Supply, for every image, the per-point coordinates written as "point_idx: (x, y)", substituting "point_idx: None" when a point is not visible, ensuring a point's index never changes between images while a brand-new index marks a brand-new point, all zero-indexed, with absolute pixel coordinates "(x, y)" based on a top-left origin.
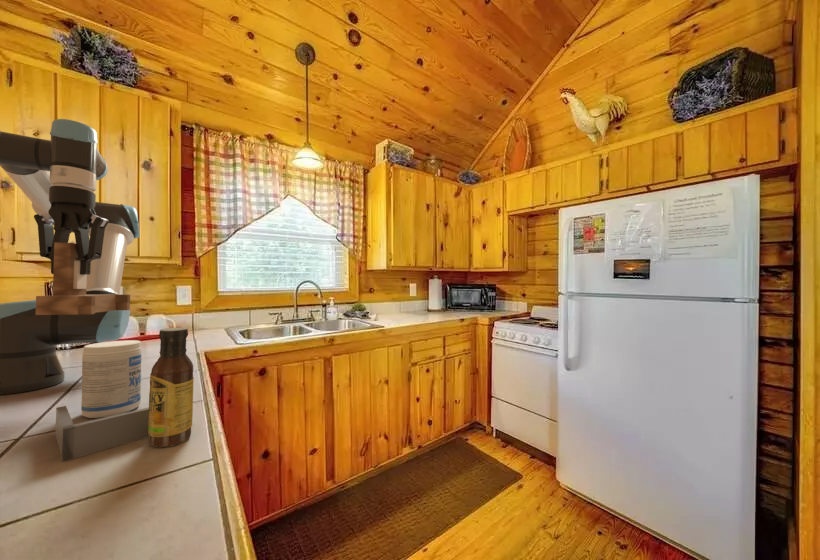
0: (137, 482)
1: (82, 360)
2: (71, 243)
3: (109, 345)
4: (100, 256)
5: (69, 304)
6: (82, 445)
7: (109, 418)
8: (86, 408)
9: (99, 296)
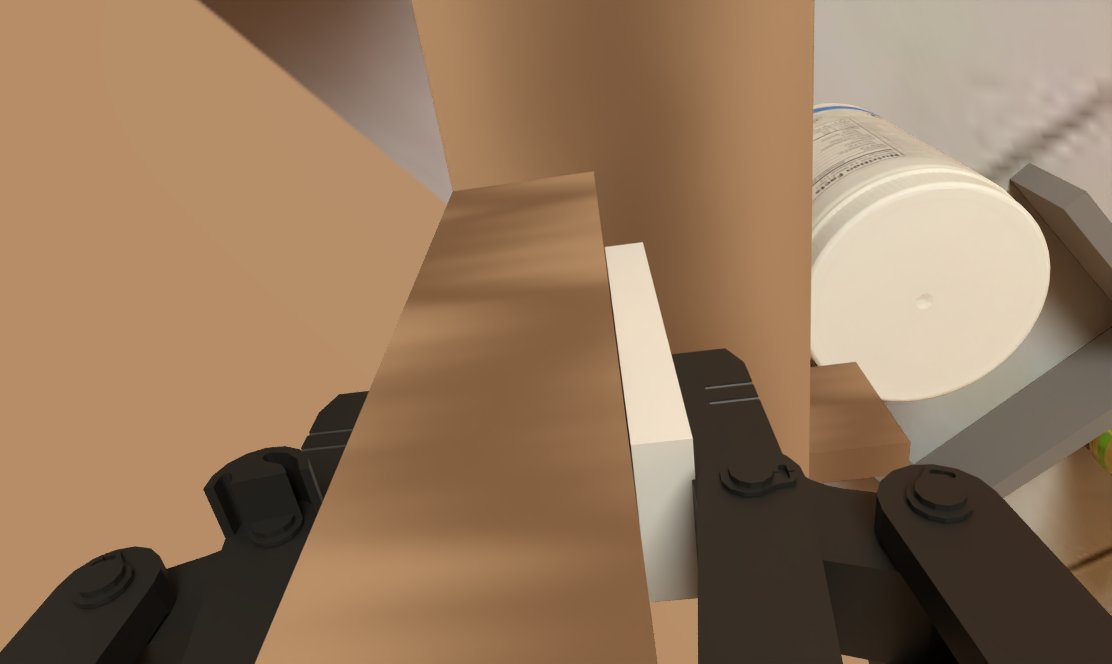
0: (1109, 551)
1: None
2: None
3: (941, 358)
4: (992, 509)
5: None
6: None
7: (1017, 488)
8: None
9: (809, 260)
